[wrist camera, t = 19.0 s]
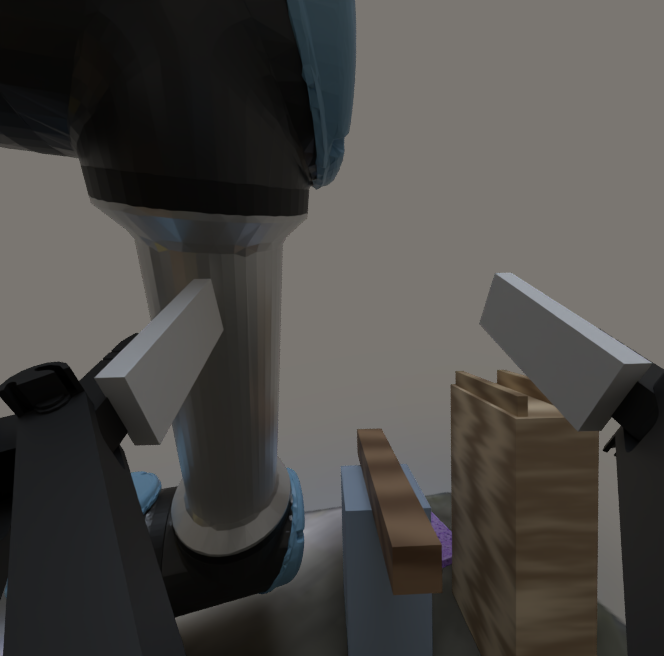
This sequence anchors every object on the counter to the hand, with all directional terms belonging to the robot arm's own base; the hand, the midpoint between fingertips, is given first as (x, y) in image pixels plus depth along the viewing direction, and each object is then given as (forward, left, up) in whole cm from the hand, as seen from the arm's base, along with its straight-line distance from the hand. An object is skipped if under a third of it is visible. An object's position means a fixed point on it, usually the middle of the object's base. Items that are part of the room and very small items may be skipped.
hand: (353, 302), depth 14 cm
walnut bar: (-12, +17, -23) cm, 31 cm away
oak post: (-2, +28, -42) cm, 50 cm away
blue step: (-15, +19, -42) cm, 48 cm away
